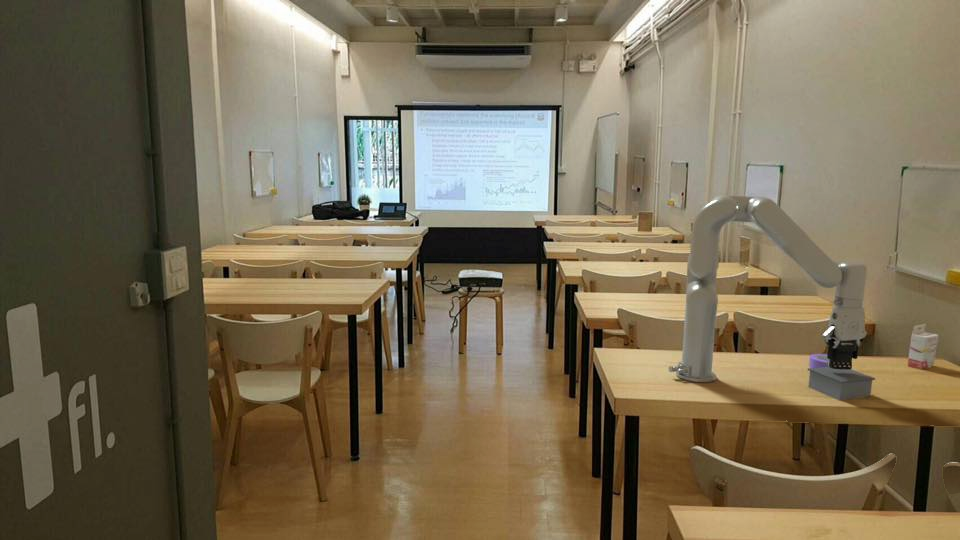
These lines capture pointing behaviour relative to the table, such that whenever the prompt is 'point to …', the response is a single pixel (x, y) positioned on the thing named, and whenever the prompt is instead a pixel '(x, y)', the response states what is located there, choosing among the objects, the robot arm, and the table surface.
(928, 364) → the ink cartridge box
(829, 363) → the battery charger
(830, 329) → the robot arm
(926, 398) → the table surface
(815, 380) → the stand
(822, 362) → the masking tape
